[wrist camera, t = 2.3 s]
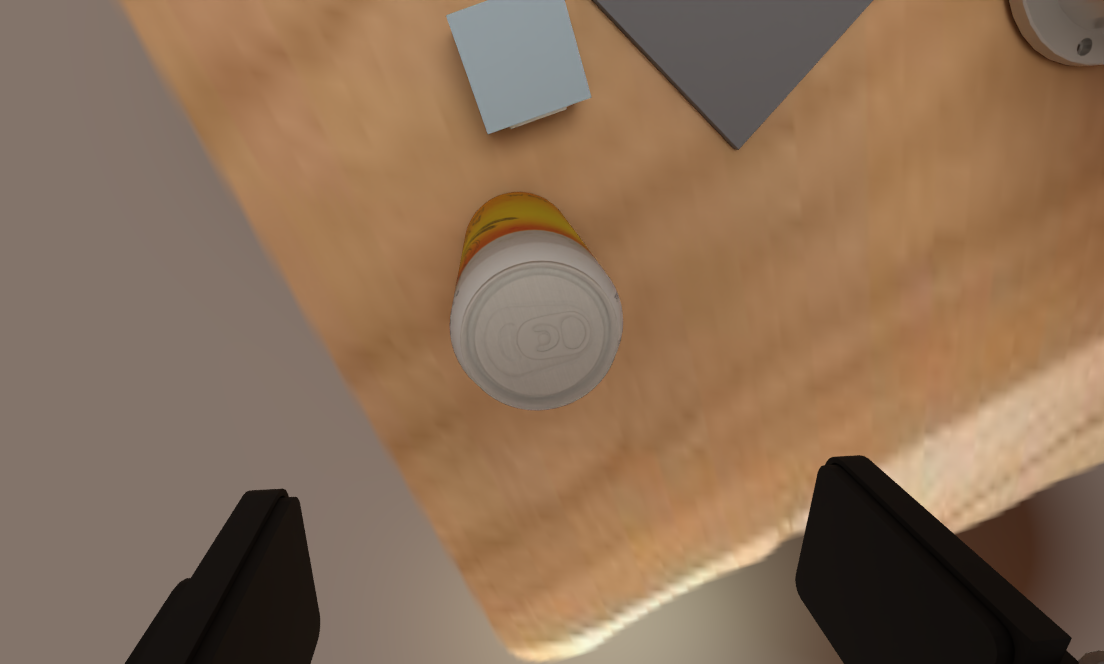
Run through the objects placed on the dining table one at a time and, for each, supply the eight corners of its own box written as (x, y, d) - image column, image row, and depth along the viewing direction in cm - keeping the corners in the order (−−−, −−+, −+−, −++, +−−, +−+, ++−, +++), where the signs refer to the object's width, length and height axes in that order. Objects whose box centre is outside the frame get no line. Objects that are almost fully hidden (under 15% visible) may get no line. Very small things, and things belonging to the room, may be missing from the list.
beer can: (455, 199, 31) (428, 267, 17) (562, 182, 31) (621, 235, 18) (476, 301, 33) (467, 434, 20) (576, 284, 34) (638, 403, 20)
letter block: (452, 31, 28) (445, 15, 24) (546, -2, 28) (557, -25, 24) (488, 134, 30) (489, 137, 26) (576, 103, 30) (592, 100, 26)
